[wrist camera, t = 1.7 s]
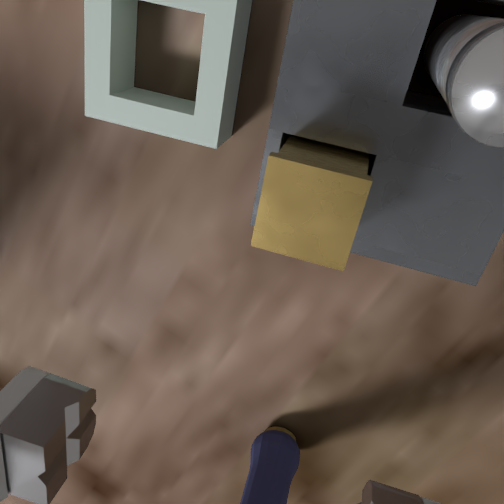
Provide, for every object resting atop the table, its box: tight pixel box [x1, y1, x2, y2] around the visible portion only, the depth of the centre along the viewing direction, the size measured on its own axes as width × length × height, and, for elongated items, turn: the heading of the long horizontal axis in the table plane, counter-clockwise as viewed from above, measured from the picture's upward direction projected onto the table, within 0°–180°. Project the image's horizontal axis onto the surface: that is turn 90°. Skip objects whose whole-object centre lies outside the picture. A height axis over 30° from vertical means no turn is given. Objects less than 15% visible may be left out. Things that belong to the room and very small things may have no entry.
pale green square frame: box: [84, 0, 252, 149], centre depth 26 cm, size 8×8×3 cm
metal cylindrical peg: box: [424, 14, 504, 148], centre depth 19 cm, size 4×4×12 cm
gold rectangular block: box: [251, 134, 373, 271], centre depth 23 cm, size 4×4×6 cm
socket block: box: [250, 0, 504, 286], centre depth 23 cm, size 12×14×5 cm
